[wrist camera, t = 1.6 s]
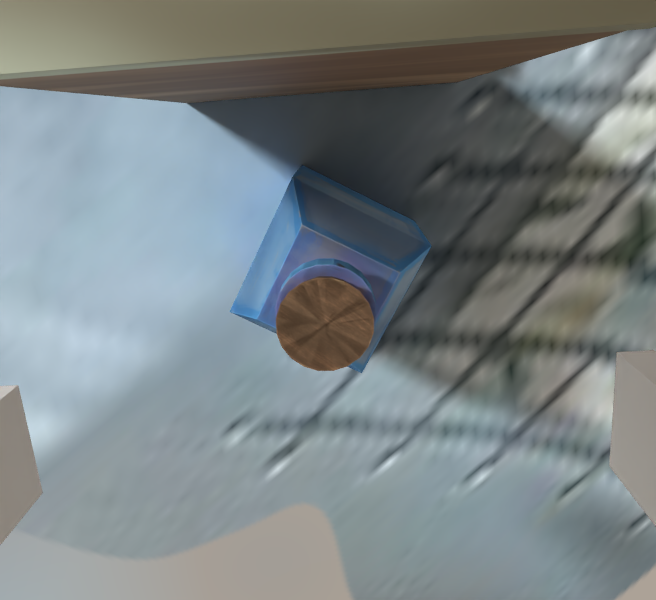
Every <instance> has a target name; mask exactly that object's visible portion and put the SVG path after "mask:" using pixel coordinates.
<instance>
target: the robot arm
mask: <svg viewBox="0 0 656 600" xmlns="http://www.w3.org/2000/svg"><path fill="white" fill-rule="evenodd" d="M609 466H610V467H611V469H612V470H613V471H614V473H615V474H616V475H617V477H618V478H619V479H620V480H621V482H622V483H623V484H624V486H625V487H626V488H627V490H628V491H629V492H630V494H631V495H632V496H633V497H634V499H635V500H636V501H637V503H638V504H639V505H640V507H641V508H642V509H643V510H644V512H645V513H646V514H647V516H648V517H649V518H650V520H651V521H652V522H653V524H654V525H655V526H656V352H655V351H654V350H647V351H629V352H617V357H616V373H615V388H614V403H613V419H612V434H611V449H610V465H609ZM42 493H43V492H42V488H41V483H40V479H39V475H38V470H37V466H36V461H35V457H34V453H33V448H32V444H31V439H30V435H29V431H28V426H27V422H26V417H25V413H24V409H23V404H22V400H21V395H20V391H19V387H18V385H12V386H0V545H1V544H2V542H3V541H4V540H5V539H6V538H7V536H8V535H9V534H10V533H11V531H12V530H13V529H14V528H15V526H16V525H17V524H18V523H19V521H20V520H21V519H22V518H23V517H24V515H25V514H26V513H27V512H28V510H29V509H30V508H31V507H32V505H33V504H34V503H35V502H36V500H37V499H38V498H39V497H40V495H41V494H42Z"/></svg>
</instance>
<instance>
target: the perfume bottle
mask: <svg viewBox="0 0 656 600" xmlns="http://www.w3.org/2000/svg"><path fill="white" fill-rule="evenodd" d="M430 248H431V244H430V243H429V241H428V240H427V238H426V237H425V236H424V234H423V233H422V231H421V230H420V228H419V227H418V225H417V224H416V223H415V221H413V220H411V219H409V218H407V217H405V216H403V215H401V214H399V213H397V212H395V211H393V210H391V209H389V208H387V207H385V206H383V205H381V204H379V203H377V202H375V201H373V200H371V199H369V198H367V197H365V196H363V195H361V194H359V193H357V192H355V191H353V190H351V189H349V188H347V187H345V186H343V185H341V184H339V183H337V182H335V181H333V180H331V179H329V178H327V177H325V176H323V175H321V174H319V173H317V172H315V171H313V170H311V169H309V168H307V167H305V166H303V165H302V166H301V167H300V168H299V170H298V171H297V172H296V173H295V174H294V176H293V177H292V179H291V181H290V183H289V186H288V188H287V190H286V192H285V194H284V196H283V198H282V201H281V203H280V205H279V207H278V209H277V211H276V213H275V216H274V218H273V220H272V222H271V224H270V226H269V228H268V231H267V233H266V235H265V237H264V239H263V241H262V243H261V246H260V248H259V250H258V252H257V254H256V256H255V258H254V261H253V263H252V265H251V267H250V269H249V271H248V273H247V276H246V278H245V280H244V282H243V284H242V286H241V288H240V291H239V293H238V295H237V297H236V299H235V301H234V303H233V306H232V308H231V310H230V312H231V313H233V314H236V315H238V316H240V317H242V318H244V319H246V320H248V321H251V322H253V323H255V324H257V325H259V326H261V327H264V328H266V329H268V330H270V331H272V332H274V333H276V334H277V336H278V338H279V341H280V344H281V346H282V348H283V349H284V350H285V351H286V353H287V354H288V355H289V356H290V357H291V358H292V359H293V360H295V361H296V362H298V363H299V364H301V365H302V366H304V367H307V368H311V369H314V370H318V371H334V370H337V369H340V368H343V367H350V368H352V369H354V370H356V371H358V372H360V373H362V372H363V370H364V368H365V366H366V365H367V363H368V361H369V359H370V357H371V355H372V354H373V352H374V350H375V348H376V346H377V345H378V343H379V341H380V339H381V337H382V335H383V334H384V332H385V330H386V328H387V326H388V325H389V323H390V321H391V319H392V317H393V315H394V314H395V312H396V310H397V308H398V306H399V305H400V303H401V301H402V299H403V297H404V295H405V294H406V292H407V290H408V288H409V286H410V285H411V283H412V281H413V279H414V277H415V275H416V274H417V272H418V270H419V268H420V266H421V265H422V263H423V261H424V259H425V257H426V255H427V254H428V252H429V250H430Z"/></svg>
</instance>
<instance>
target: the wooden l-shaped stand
mask: <svg viewBox="0 0 656 600" xmlns="http://www.w3.org/2000/svg"><path fill="white" fill-rule="evenodd" d="M653 27H656V0H0V86H5V87H16V88H27V89H38V90H49V91H60V92H71V93H82V94H93V95H104V96H115V97H126V98H137V99H148V100H159V101H169V102H180V103H193V102H206V101H219V100H232V99H245V98H258V97H271V96H285V95H298V94H311V93H324V92H337V91H350V90H363V89H376V88H390V87H403V86H416V85H429V84H442V83H455V82H460V81H463V80H466V79H470V78H473V77H476V76H479V75H483V74H486V73H489V72H492V71H496V70H499V69H502V68H506V67H509V66H512V65H515V64H519V63H522V62H525V61H529V60H532V59H535V58H538V57H542V56H545V55H548V54H551V53H555V52H558V51H561V50H565V49H568V48H571V47H574V46H578V45H581V44H584V43H588V42H591V41H594V40H597V39H601V38H604V37H607V36H610V35H614V34H617V33H620V32H624V31H627V30H637V29H650V28H653Z"/></svg>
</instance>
